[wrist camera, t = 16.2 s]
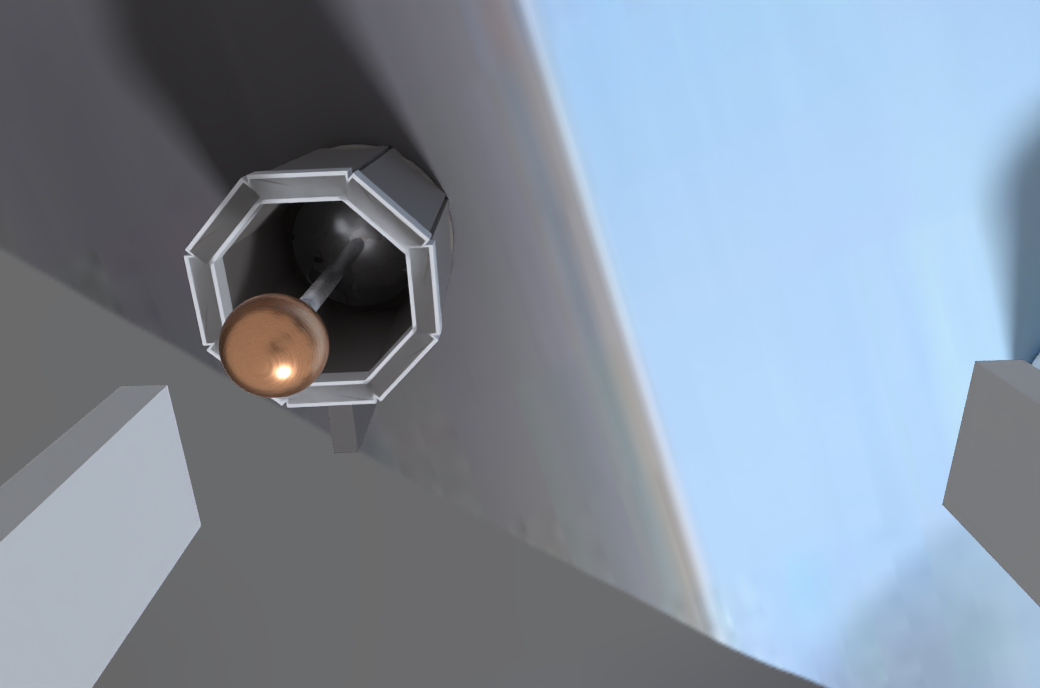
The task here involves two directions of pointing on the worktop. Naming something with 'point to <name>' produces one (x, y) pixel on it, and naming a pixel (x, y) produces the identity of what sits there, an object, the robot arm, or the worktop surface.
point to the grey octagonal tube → (274, 269)
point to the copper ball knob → (309, 301)
